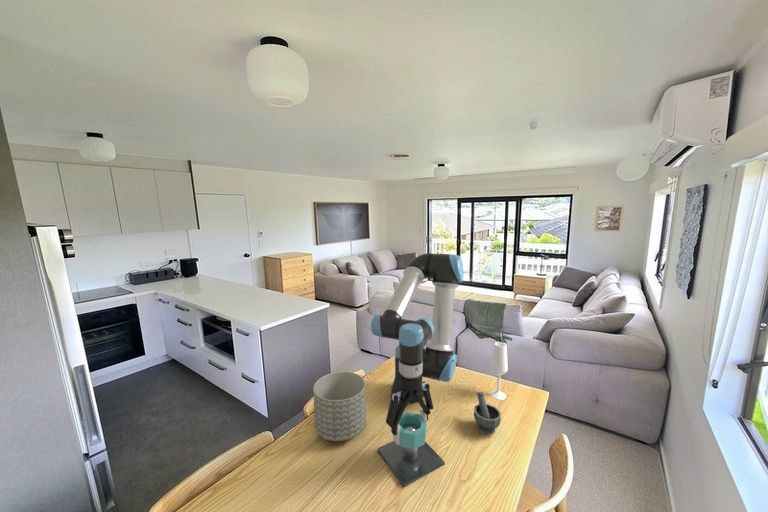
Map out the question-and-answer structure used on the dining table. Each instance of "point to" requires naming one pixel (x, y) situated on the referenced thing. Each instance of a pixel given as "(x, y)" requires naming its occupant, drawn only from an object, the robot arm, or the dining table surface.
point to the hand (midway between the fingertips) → (410, 436)
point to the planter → (339, 406)
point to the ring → (412, 437)
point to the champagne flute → (499, 367)
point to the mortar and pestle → (486, 415)
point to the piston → (410, 460)
